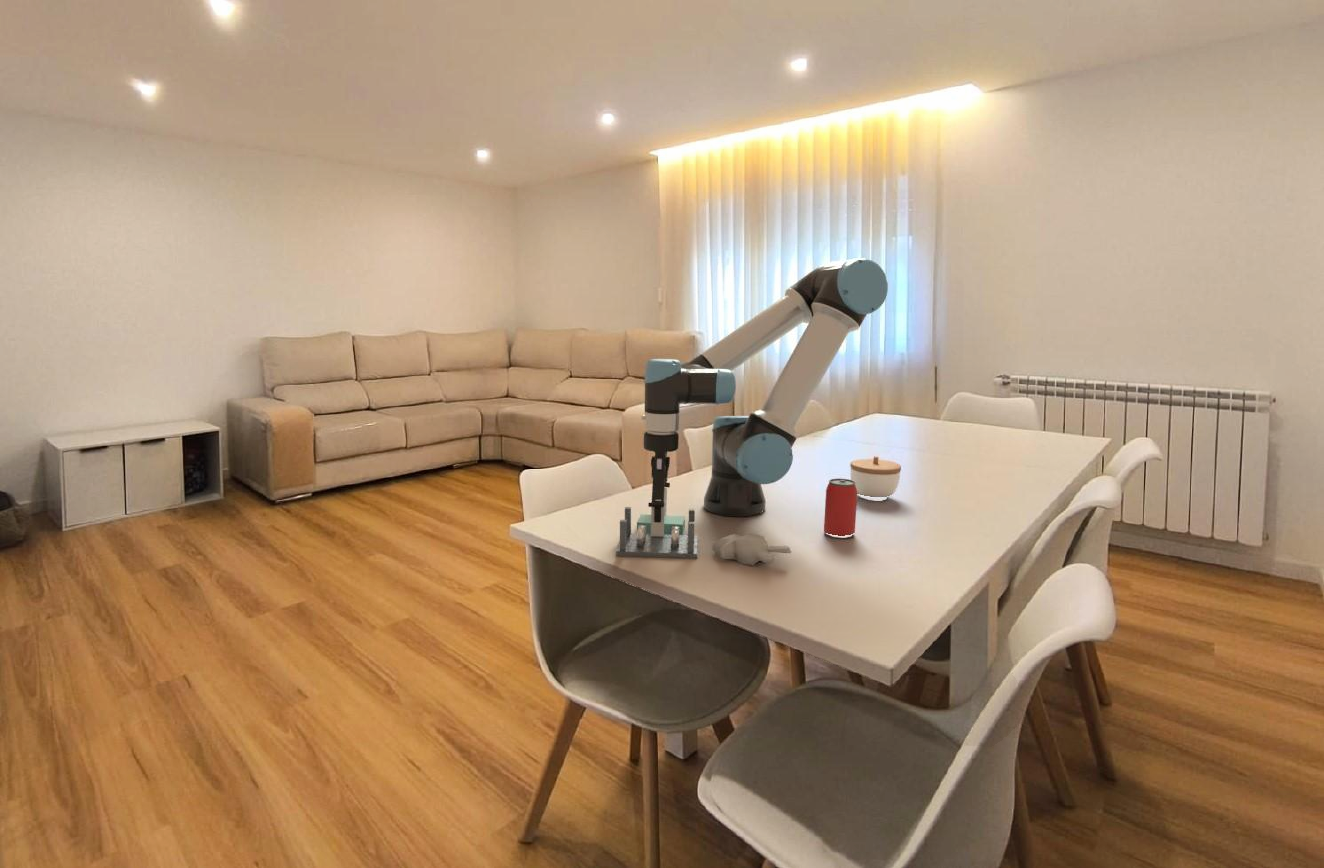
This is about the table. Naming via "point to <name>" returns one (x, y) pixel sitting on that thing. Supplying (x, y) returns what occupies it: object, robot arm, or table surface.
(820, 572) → the table surface
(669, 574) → the table surface
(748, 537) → the bunny figurine
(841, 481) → the beer can
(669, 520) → the green rectangular block
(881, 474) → the lidded bowl
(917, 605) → the table surface
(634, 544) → the chassis
